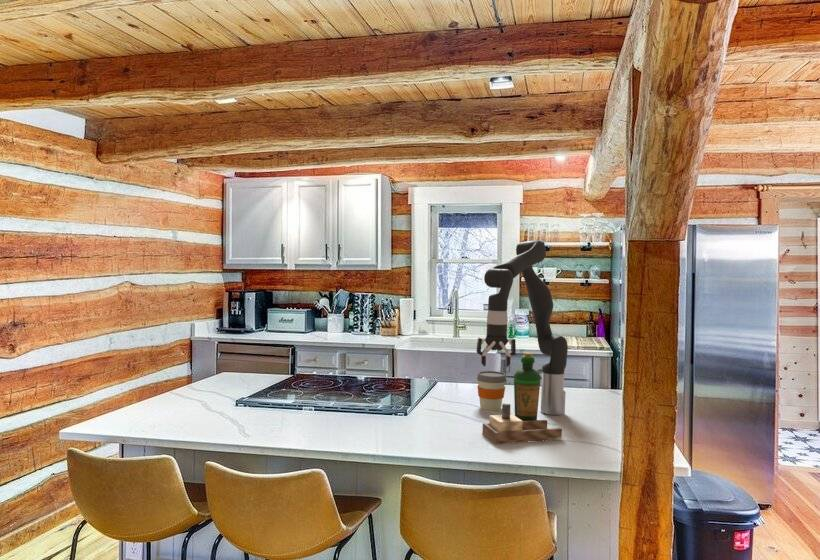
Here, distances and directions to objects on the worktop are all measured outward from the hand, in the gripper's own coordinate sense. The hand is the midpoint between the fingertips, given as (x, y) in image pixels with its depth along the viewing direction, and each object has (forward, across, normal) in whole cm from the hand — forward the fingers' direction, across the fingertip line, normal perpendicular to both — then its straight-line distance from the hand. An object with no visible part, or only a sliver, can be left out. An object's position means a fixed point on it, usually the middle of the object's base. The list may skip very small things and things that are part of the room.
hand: (495, 366), depth 222 cm
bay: (+25, -10, +3) cm, 28 cm away
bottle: (+25, -16, -15) cm, 34 cm away
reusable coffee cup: (+25, -6, -38) cm, 46 cm away
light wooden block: (+24, -4, +5) cm, 25 cm away
